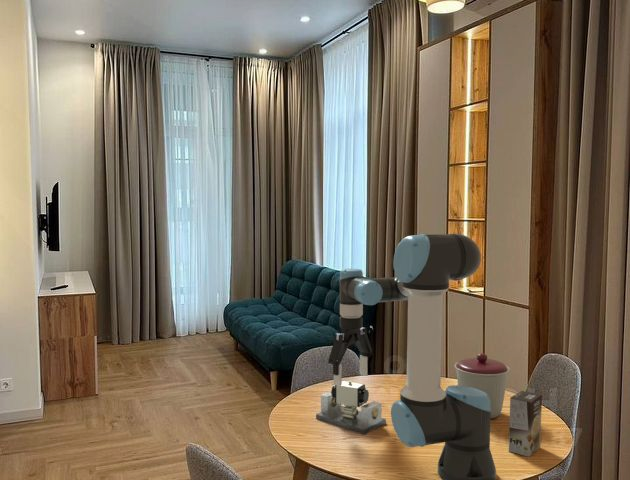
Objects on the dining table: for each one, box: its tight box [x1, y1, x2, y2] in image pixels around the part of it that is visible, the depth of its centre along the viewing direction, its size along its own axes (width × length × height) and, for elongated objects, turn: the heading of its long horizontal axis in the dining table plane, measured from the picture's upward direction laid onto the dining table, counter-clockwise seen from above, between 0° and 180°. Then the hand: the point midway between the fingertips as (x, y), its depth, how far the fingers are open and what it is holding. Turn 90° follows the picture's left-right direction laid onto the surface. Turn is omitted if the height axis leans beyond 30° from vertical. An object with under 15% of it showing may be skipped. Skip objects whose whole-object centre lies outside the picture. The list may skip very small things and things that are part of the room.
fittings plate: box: [315, 390, 387, 435], centre depth 198 cm, size 20×12×8 cm, turn 48°
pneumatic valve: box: [330, 380, 370, 419], centre depth 198 cm, size 6×12×12 cm, turn 61°
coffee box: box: [508, 390, 543, 457], centre depth 176 cm, size 9×6×16 cm
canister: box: [454, 352, 511, 420], centre depth 204 cm, size 18×18×21 cm
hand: (350, 379), depth 198 cm, fingers open, 13 cm apart
